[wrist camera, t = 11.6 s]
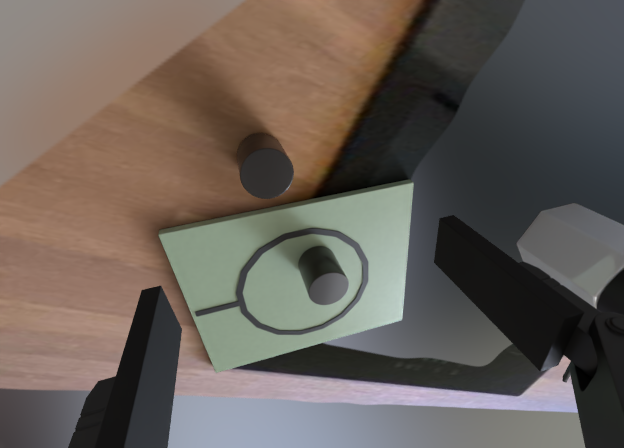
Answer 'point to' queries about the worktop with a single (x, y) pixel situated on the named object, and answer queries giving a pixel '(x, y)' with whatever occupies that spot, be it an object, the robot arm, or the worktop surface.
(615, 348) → the robot arm
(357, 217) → the board
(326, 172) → the worktop surface
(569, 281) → the jar
